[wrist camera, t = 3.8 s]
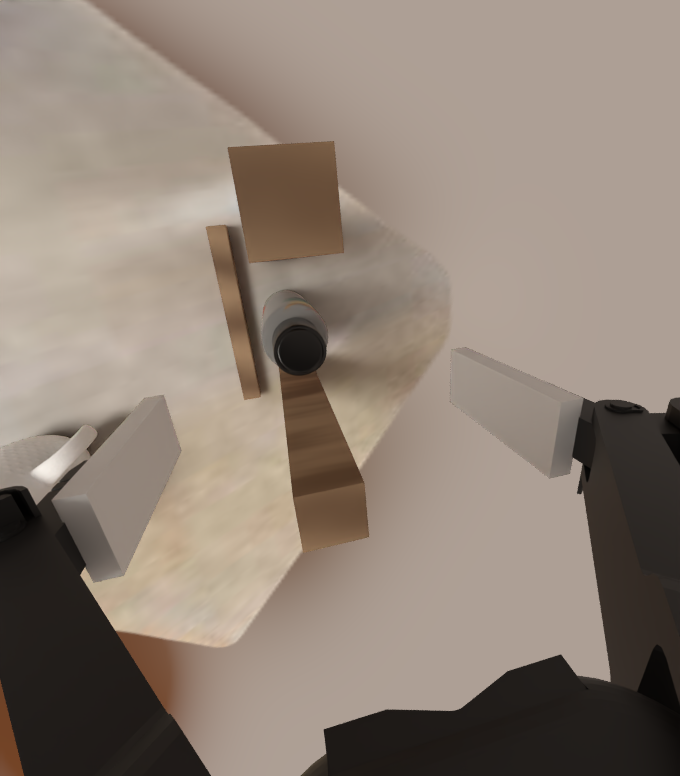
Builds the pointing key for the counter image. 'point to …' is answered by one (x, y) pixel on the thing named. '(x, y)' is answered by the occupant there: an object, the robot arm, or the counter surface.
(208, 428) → the counter surface
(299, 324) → the lotion bottle
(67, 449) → the mug
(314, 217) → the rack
